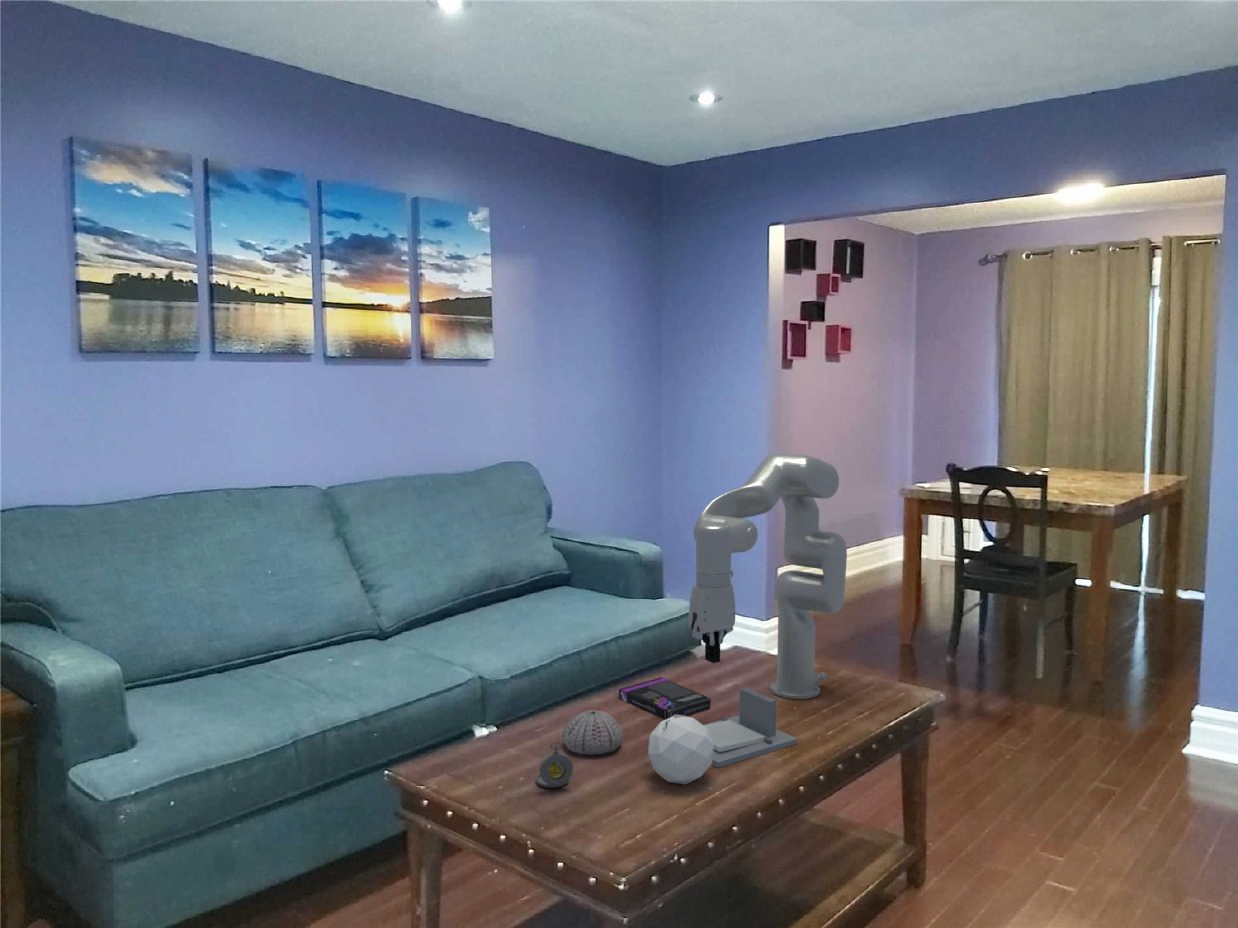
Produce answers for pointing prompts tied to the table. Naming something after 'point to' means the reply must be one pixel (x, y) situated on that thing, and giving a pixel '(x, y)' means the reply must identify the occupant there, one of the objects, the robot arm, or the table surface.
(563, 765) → the pocket watch
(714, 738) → the tile
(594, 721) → the sea urchin shell
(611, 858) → the table surface
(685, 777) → the geodesic sphere
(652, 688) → the box
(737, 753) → the board
